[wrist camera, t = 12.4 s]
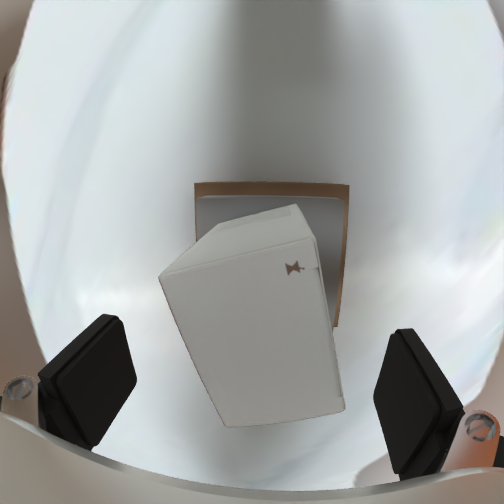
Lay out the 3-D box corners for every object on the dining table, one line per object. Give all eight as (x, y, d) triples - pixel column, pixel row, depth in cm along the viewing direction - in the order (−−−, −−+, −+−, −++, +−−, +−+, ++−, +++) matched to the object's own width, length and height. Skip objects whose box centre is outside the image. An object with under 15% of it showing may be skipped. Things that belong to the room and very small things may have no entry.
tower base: (204, 182, 25) (181, 184, 19) (341, 184, 24) (358, 186, 18) (209, 307, 28) (191, 338, 22) (332, 311, 27) (343, 345, 21)
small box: (217, 222, 20) (151, 270, 10) (298, 201, 19) (316, 231, 9) (248, 325, 21) (222, 431, 11) (322, 310, 21) (346, 414, 10)
